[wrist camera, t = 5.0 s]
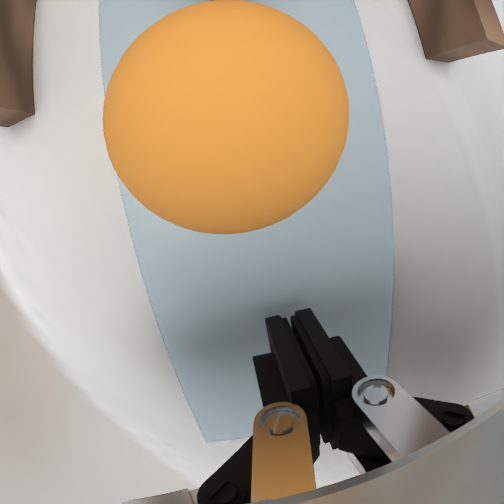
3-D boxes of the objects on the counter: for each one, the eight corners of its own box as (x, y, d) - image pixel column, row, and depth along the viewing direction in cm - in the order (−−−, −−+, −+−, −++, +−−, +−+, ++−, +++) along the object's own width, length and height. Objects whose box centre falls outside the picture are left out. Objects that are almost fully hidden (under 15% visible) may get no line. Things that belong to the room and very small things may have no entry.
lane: (381, 397, 15) (382, 399, 15) (206, 440, 14) (206, 442, 14) (274, -151, 4) (275, -153, 4) (115, -134, 3) (115, -135, 3)
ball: (299, -62, 4) (272, 55, 10) (42, 24, 4) (123, 112, 10) (448, 156, 4) (341, 194, 10) (112, 299, 4) (181, 262, 10)
